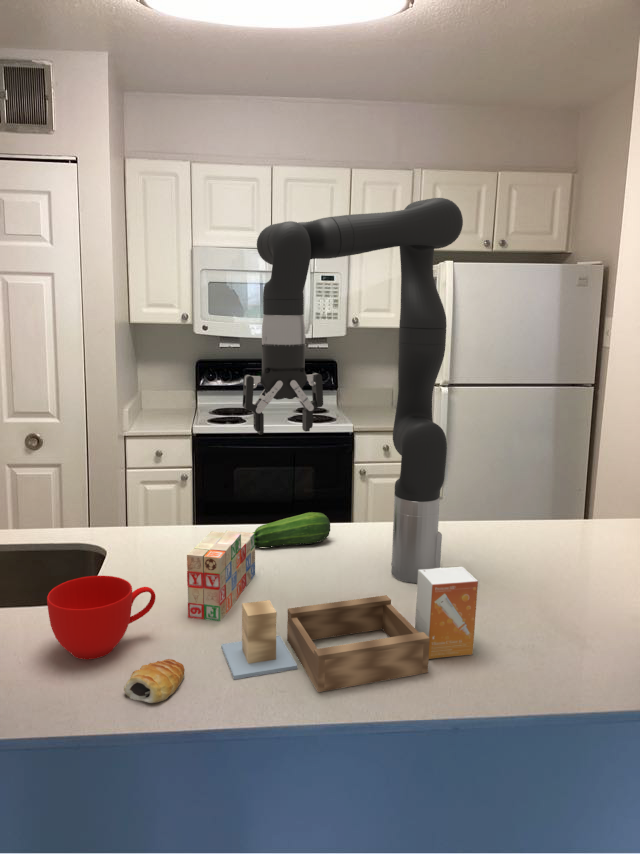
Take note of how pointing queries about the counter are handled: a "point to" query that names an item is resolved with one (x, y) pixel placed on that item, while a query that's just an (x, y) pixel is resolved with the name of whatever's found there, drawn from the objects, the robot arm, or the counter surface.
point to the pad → (243, 669)
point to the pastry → (155, 681)
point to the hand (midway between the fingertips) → (283, 432)
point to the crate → (360, 659)
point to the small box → (447, 610)
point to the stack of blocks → (219, 573)
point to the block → (259, 631)
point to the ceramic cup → (93, 613)
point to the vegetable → (293, 530)
